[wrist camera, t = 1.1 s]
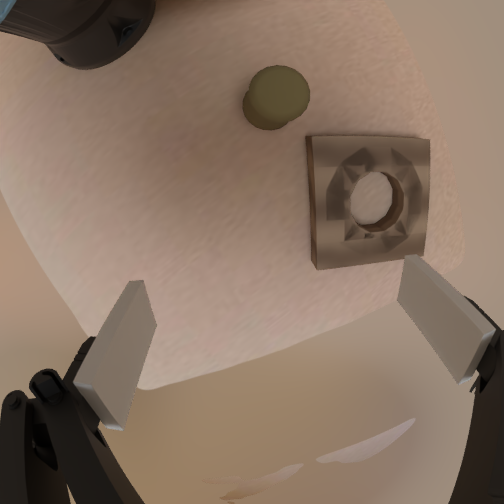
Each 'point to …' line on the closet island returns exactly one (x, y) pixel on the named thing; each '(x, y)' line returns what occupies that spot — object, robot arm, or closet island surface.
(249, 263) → the closet island surface
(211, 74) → the closet island surface
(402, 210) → the socket block
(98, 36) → the robot arm
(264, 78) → the olive green knobbed peg
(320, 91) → the closet island surface
